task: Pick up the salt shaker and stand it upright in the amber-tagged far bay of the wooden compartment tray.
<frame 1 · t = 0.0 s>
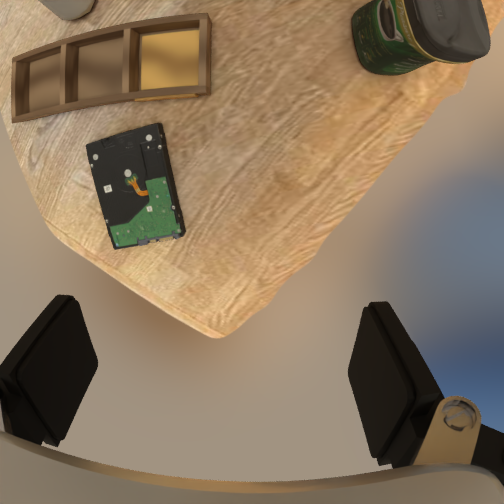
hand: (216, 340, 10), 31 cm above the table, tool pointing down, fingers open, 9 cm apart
salt shaker: (82, 5, 28), on the table
disk drive: (139, 185, 40), on the table
wooden compartment tray: (106, 69, 32), on the table
coffee jar: (380, 41, 31), on the table
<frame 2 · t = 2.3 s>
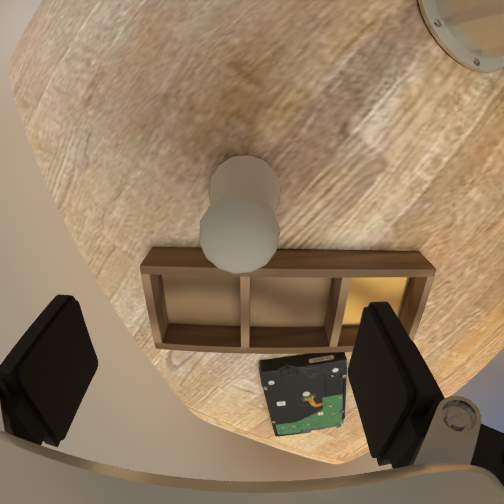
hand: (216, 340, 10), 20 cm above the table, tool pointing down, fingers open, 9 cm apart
salt shaker: (245, 183, 28), on the table
disk drive: (305, 388, 40), on the table
wooden compartment tray: (289, 292, 32), on the table
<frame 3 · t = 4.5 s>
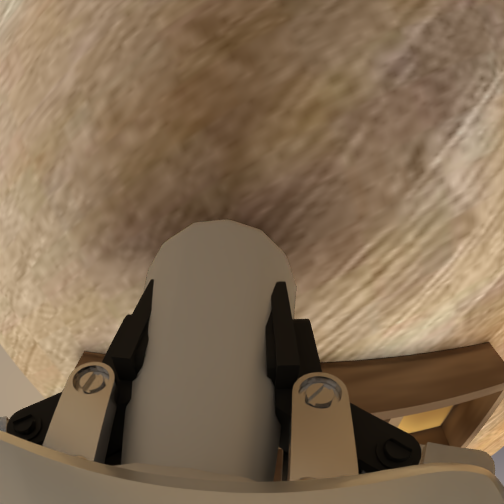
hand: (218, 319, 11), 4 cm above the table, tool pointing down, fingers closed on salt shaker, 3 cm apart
salt shaker: (225, 263, 15), on the table, touching gripper
wooden compartment tray: (300, 412, 19), on the table
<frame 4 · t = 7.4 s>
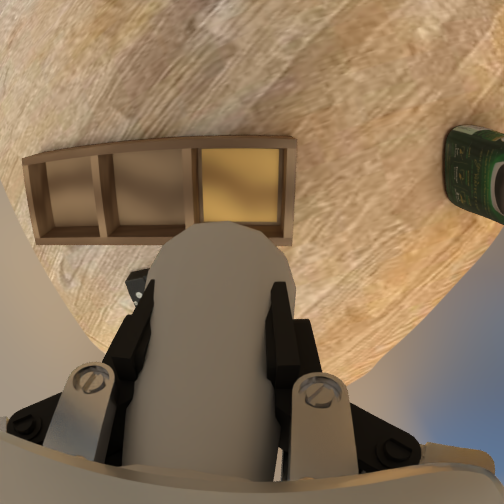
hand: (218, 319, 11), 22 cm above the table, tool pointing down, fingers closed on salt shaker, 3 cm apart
salt shaker: (225, 264, 15), point 18 cm above the table, touching gripper
disk drive: (190, 314, 38), on the table
wooden compartment tray: (153, 185, 31), on the table
coffee jar: (466, 163, 29), on the table
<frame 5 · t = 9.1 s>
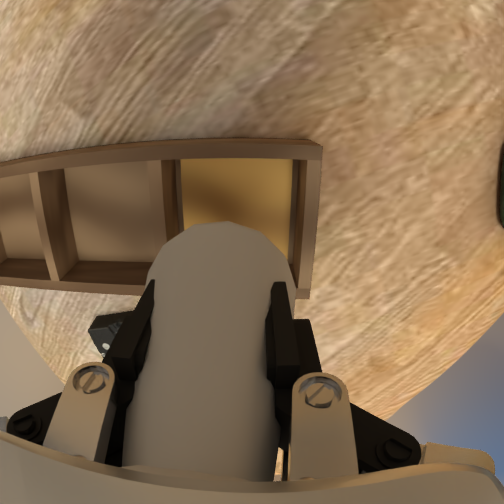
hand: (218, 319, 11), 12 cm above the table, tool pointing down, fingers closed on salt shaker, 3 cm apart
salt shaker: (225, 264, 15), point 8 cm above the table, touching gripper
disk drive: (173, 364, 29), on the table
wooden compartment tray: (117, 208, 22), on the table
when the fingers open (6 cm above the table, at t = 10.6 s): salt shaker stays where it is, resting on wooden compartment tray.
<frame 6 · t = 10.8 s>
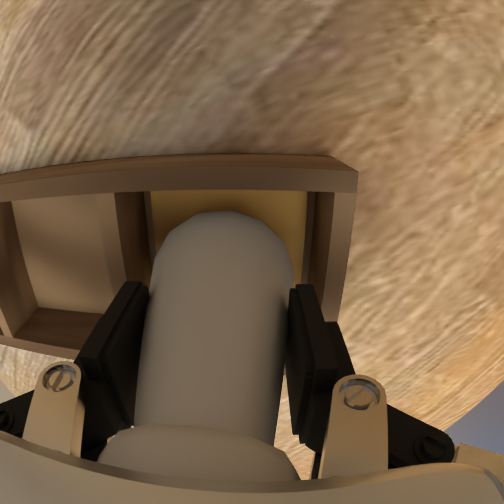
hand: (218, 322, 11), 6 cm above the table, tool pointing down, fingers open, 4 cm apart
salt shaker: (227, 251, 16), point 1 cm above the table, touching wooden compartment tray
wooden compartment tray: (76, 247, 16), on the table
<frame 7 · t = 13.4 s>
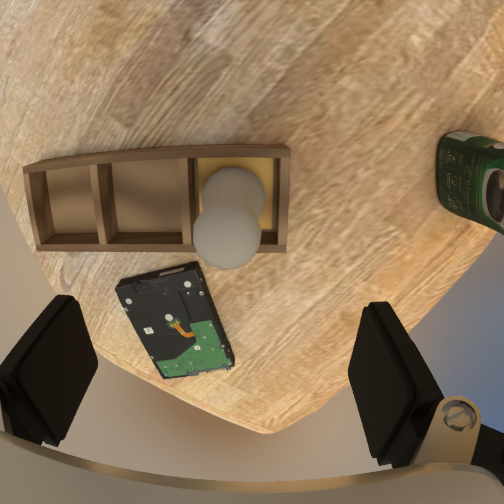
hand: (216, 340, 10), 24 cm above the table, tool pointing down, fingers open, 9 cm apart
salt shaker: (235, 192, 31), point 1 cm above the table, touching wooden compartment tray
disk drive: (180, 319, 39), on the table
wooden compartment tray: (151, 193, 32), on the table
coffee jar: (459, 169, 30), on the table
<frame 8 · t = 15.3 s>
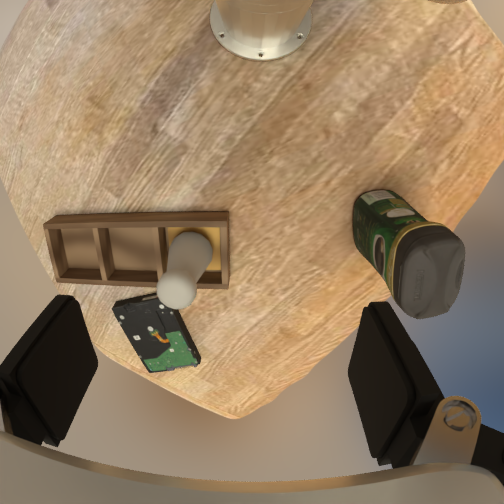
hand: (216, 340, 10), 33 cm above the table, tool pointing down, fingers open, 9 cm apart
salt shaker: (194, 245, 44), point 1 cm above the table, touching wooden compartment tray
disk drive: (160, 329, 52), on the table
wooden compartment tray: (136, 243, 45), on the table
coffee jar: (376, 220, 43), on the table
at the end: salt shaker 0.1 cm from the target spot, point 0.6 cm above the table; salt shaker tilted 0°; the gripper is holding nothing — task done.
